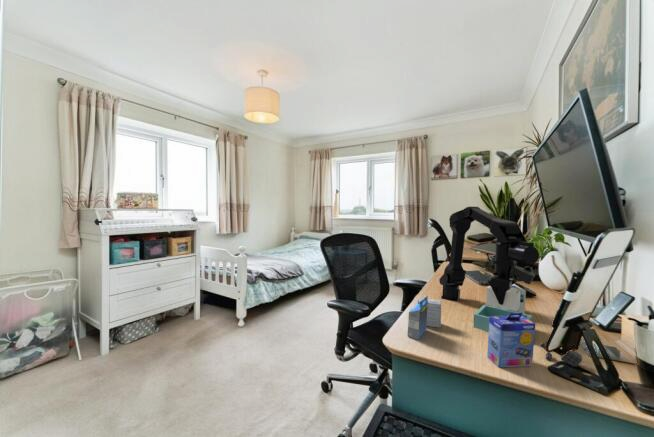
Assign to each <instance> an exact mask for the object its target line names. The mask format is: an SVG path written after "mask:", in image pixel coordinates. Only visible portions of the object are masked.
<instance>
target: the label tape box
mask: <svg viewBox="0 0 654 437" xmlns="http://www.w3.org/2000/svg"><path fill="white" fill-rule="evenodd" d="M428 297H429V296H428V295H426V296H425V297H423V298H424V299H423V300H422V301H420V302H419V304H418V303H416V304H415V306H414V307H413V308H412V309H411V310H409V312H408V317H407V318H408V320H407V337H409V338H411V337H412V339H414V338H415V340H420V339H421V337H422V335H423V334H424V333H425V331H426V330H427V326H426V322H427V304H428V299H429V298H428ZM423 302H425V303H423Z"/></svg>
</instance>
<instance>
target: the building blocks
mask: <svg viewBox="0 0 654 437" xmlns="http://www.w3.org/2000/svg"><path fill="white" fill-rule="evenodd" d="M545 345H547V343H545V342H541V344H540V345H539V346H540V347H541V348H542V349H543V350H545V349H546V348H545ZM545 360H547V361H548V362H552V360H553V354H552V353H551V352H550V351H547V352H546V353H545ZM560 360H561V361H562V362H565V364H567V363H568V364H567V365H569V364H571V365H574V366H576V368H577V367H578V365H580V364H581V363H582V362H583V355H582V354H580V353H579V352H577V351H576V350H574V349H573V351H568V352H567V353H566V354H565V355H562V356H561V355H560Z"/></svg>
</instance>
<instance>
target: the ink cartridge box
mask: <svg viewBox="0 0 654 437" xmlns="http://www.w3.org/2000/svg"><path fill="white" fill-rule="evenodd" d="M522 314H523V313H510V314H509V315H508V316H503V315H501V316H489V332H488V340H487V358H488V359H490V360H491V362H493V363H494V365H496V366H497V367H498V368H517V367H518V368H519V367H520V368H521V367H522V368H525V367H528V368H529V367H532V366H533V360H534V359H533V357H534V346H535V345H534V344H535V335H536V323H535V322H533V321H530V320H529V319H527V318H525V317H523V316H522Z"/></svg>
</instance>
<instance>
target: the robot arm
mask: <svg viewBox="0 0 654 437" xmlns="http://www.w3.org/2000/svg"><path fill="white" fill-rule="evenodd" d="M475 221H477V222H478V223H479V224H481V225H483V226H484V227H486V228H488V229H489V233H490V234H491V235H492V236H494V237H495V238H494V239H492V240H491V241H490V242H491V244H495V257H494V258H495V259H494V260H493V264H494V271H493V272H492V276H490V277H489V278H488V279H487V286H491V288H492V290H493V292H494V294H495V296H496V298H497V300H498V303H499V304H500V305H503V303H504V299H505V295H506V291H508V290H510V289H511V288H512V287H511V285H513V284H515V285H516V283H517V282H518V280H519V281H522V282H524V283H525V284H527V285H531V283H532V282H533V281H534V278H535V276H536V273H535V272H534V271H533V267H530V266H529V265H534V264H536V263H537V262H538V261H539V258H540V253H539V250H538V249H537V248H536V246H535V243H534V242H531V241H528V240H527V239H526V236H525V235H524V233H523V231H522V229H521V228H520V224H519V223H518V222H516V221H512V220H509V219H502V218H498V217H497V216H494V214H491V213H490V212H488V211H486V210H483V209H482V208H480V206H467V207H465V208H463V209H461V210H459V211H456V212H453V213H452V214H451V215H450V216H449V227H450V229H451V232H452V236H451V237H452V238H451V245H450V246H451V247H450V252H449V253H450V255H449V261H448V262H449V263H448V264H447V265H446V266H445V268H444V271H443V274H442V275H441V276H440V278H439V284H440V285H441V286H442V295H441V296H440V298H441V299H444V300H449V301H452V302H456V301H458V300H459V299H461V289H460V287H463V285H464V283H465V282H464V281H465V280H466V273H467V271H466V270H465V269H464V268H463V265H462V264H463V263H462V262H463V256H464V246H465V238H466V234H467V232H468V231H469V230H470V228H471V226H472V223H473V222H475ZM518 263H524V264H527V266H525V267H522V266H518V265H517V264H518Z"/></svg>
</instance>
